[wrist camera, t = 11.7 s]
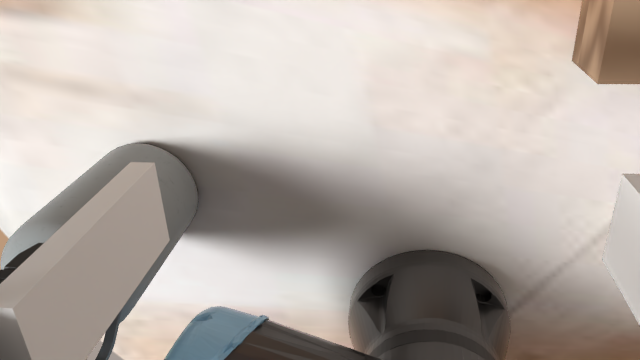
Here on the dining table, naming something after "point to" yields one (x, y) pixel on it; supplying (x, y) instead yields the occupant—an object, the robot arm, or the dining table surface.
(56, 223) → the water bottle
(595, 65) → the brown hollow block
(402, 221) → the dining table surface
